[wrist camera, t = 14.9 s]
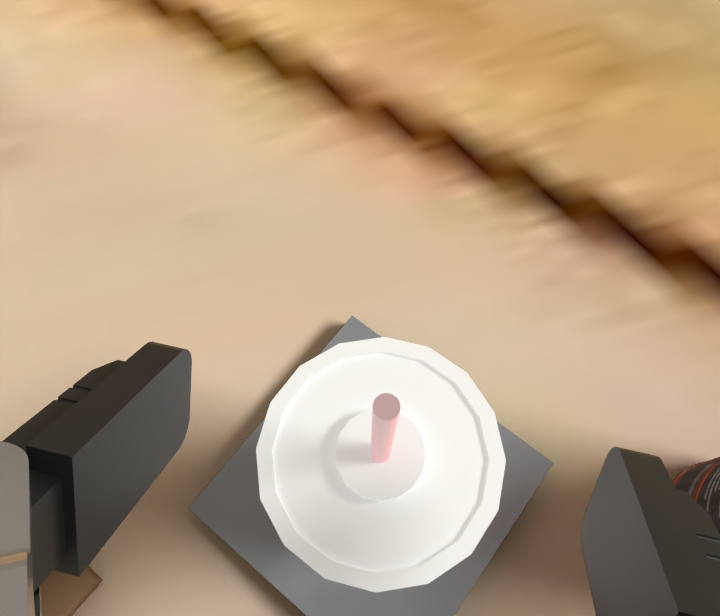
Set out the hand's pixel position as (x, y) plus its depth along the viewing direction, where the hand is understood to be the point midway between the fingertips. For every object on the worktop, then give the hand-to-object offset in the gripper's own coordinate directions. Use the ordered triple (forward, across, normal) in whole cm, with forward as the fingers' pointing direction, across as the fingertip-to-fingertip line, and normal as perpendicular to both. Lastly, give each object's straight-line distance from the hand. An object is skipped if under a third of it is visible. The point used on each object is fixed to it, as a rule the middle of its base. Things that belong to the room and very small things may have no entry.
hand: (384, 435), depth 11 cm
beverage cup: (+9, 0, +9) cm, 13 cm away
